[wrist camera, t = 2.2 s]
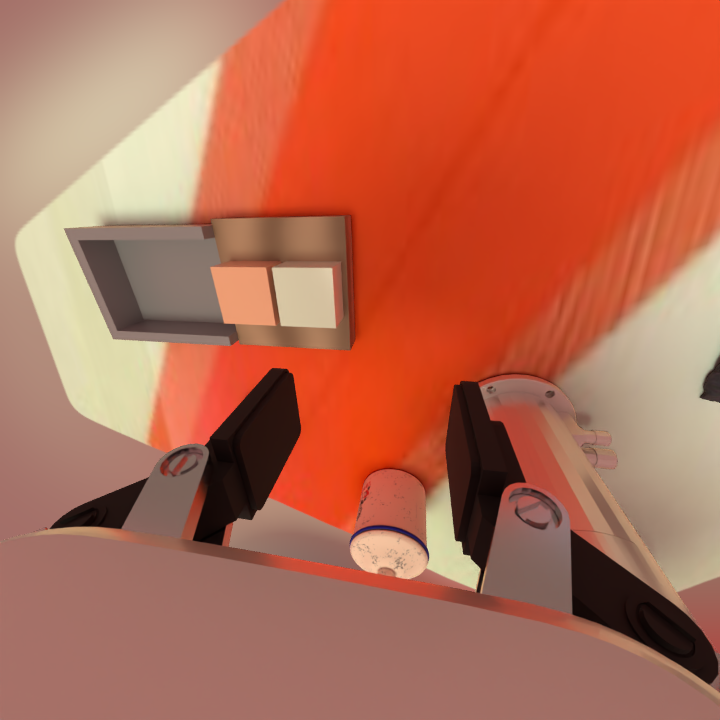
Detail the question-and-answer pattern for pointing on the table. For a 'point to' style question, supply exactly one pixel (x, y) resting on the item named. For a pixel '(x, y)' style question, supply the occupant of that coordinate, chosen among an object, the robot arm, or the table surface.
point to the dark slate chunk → (712, 386)
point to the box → (154, 281)
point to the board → (292, 243)
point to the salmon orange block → (246, 292)
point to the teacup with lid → (391, 525)
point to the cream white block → (309, 293)
